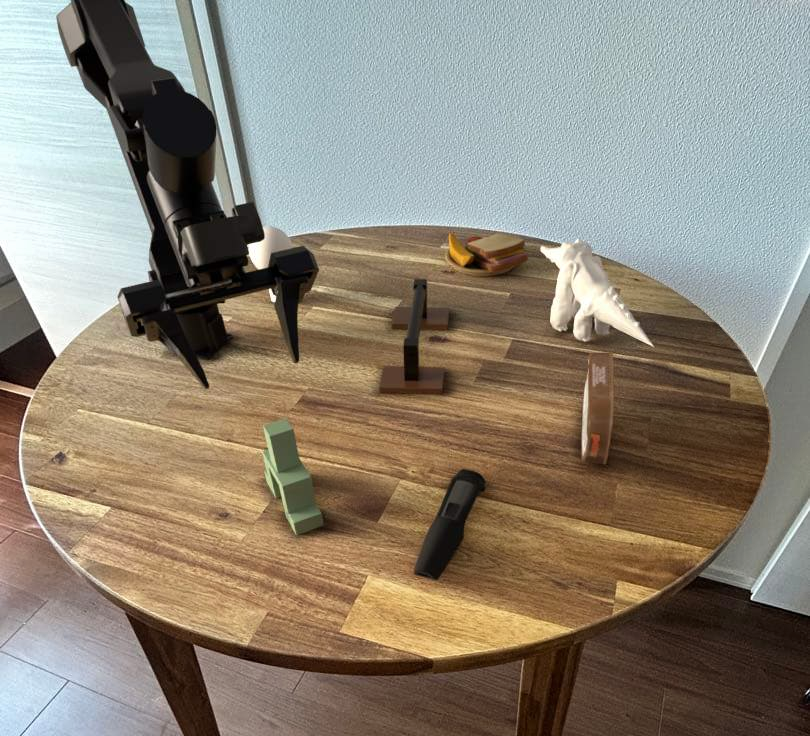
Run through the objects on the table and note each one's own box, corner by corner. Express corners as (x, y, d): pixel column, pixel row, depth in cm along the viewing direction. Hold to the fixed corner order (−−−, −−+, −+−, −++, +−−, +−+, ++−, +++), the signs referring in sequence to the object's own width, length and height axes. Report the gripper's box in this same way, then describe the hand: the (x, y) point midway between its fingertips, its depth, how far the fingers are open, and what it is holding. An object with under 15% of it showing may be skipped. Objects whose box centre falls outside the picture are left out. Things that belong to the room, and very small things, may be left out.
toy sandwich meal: (499, 241, 113) (502, 212, 109) (537, 272, 104) (541, 242, 100) (433, 254, 110) (433, 225, 106) (466, 287, 101) (467, 257, 98)
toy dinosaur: (553, 295, 98) (564, 219, 90) (666, 370, 84) (691, 287, 76) (516, 306, 96) (524, 229, 88) (624, 385, 82) (645, 301, 74)
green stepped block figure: (266, 482, 71) (248, 406, 64) (292, 473, 72) (276, 398, 65) (296, 535, 66) (279, 459, 58) (323, 525, 66) (310, 449, 59)
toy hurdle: (379, 392, 82) (376, 351, 78) (395, 311, 97) (393, 273, 92) (442, 394, 82) (442, 353, 77) (448, 312, 96) (449, 274, 92)
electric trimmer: (403, 585, 61) (402, 563, 59) (454, 479, 71) (455, 457, 68) (441, 596, 60) (441, 574, 58) (488, 487, 70) (490, 465, 67)
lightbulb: (309, 297, 100) (298, 224, 92) (282, 315, 97) (269, 240, 89) (277, 288, 103) (264, 216, 95) (250, 305, 99) (235, 231, 91)
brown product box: (604, 480, 70) (621, 416, 64) (574, 477, 70) (588, 413, 64) (604, 400, 80) (618, 338, 74) (578, 397, 80) (590, 335, 74)
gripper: (79, 194, 52) (152, 379, 53) (296, 152, 57) (358, 321, 59) (99, 256, 63) (160, 409, 64) (281, 216, 68) (334, 358, 69)
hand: (253, 374), depth 64 cm, fingers open, 9 cm apart
